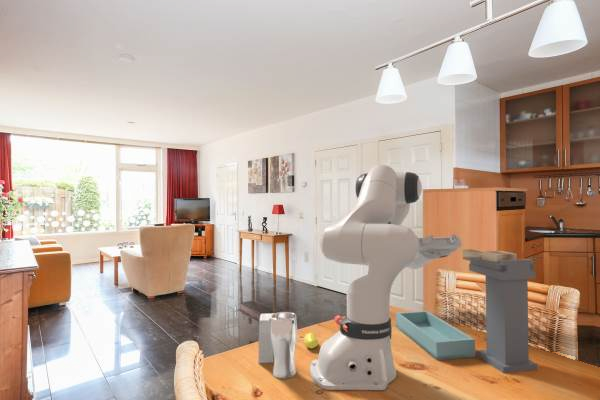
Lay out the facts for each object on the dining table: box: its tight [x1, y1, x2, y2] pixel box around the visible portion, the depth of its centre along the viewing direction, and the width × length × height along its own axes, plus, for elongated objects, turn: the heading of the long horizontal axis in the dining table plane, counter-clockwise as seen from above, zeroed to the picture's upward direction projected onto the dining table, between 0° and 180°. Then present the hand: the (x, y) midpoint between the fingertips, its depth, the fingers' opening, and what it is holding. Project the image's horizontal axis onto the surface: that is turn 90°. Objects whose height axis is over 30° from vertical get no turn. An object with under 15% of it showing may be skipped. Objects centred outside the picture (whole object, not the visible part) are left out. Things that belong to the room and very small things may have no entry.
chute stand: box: [468, 258, 538, 374], centre depth 95 cm, size 10×13×29 cm
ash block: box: [462, 249, 517, 264], centre depth 101 cm, size 6×17×4 cm, turn 9°
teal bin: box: [395, 310, 476, 361], centre depth 109 cm, size 12×26×5 cm, turn 9°
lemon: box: [303, 332, 319, 349], centre depth 105 cm, size 4×8×4 cm, turn 1°
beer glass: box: [271, 311, 298, 380], centre depth 88 cm, size 7×7×15 cm
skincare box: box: [258, 312, 275, 364], centre depth 97 cm, size 6×4×12 cm
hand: (443, 236), depth 123 cm, fingers open, 8 cm apart
